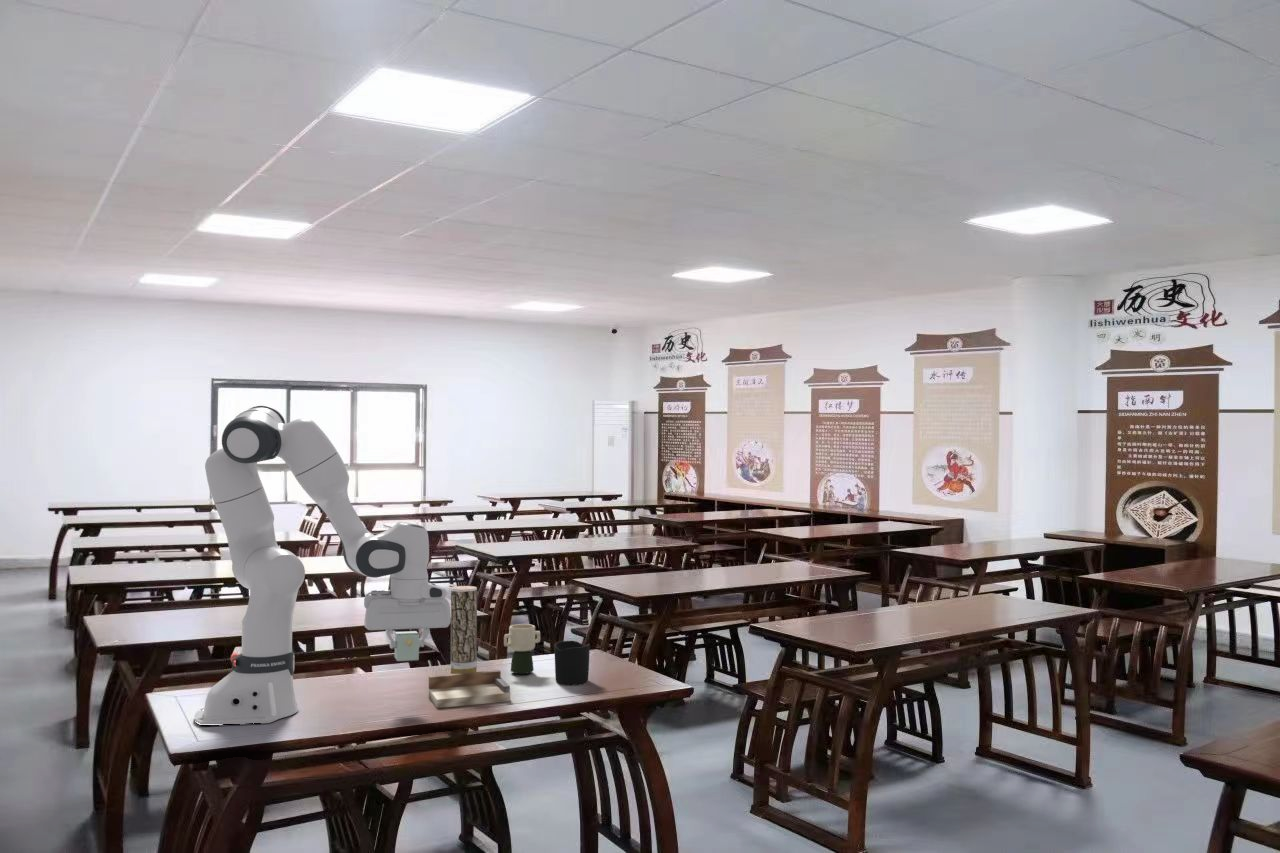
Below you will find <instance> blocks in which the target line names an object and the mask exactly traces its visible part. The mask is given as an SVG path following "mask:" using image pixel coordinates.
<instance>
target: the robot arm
mask: <svg viewBox="0 0 1280 853" xmlns="http://www.w3.org/2000/svg"><path fill="white" fill-rule="evenodd" d="M221 445H222V446H221V447H222V448H220V449H217V450H216V451H214V452H212V453H210V455H209V456H208V457H207V458H206V460H205V463H204V464H205V465H204V469H205V475H206V480H207V484H208V489H209V491H210V495H211V498H212V501H213V503H214V505H215V508H216V511H217V514H218V516H219V519H220V522H221V524H222V527H223V529H224V532H225V536H226V539H227V544H228V550H229V555H230V560H231V562H232V564H231V569H232V573H233V576H234V578H235V579H236V581H237V582H238V583H239V584H240V585H241V586H242V587H243V588H244V589H245V588H246V589H248V590H249V599H248V603H247V608H246V612H245V614H244V616H243V617H242V620H241V653H237V652H234V653H232V654H231V655H230V662H231V669H232V671H230V672H229V673H228V674H227V675H226V676H224V677H223V678H222V679H221V680H219V681H218V682H217V683H215V684H214V685H213V686H212V687H211V688H210V689H209V691H208V693H207V695H206V699H205V704H204V707H203V708H200V709H199V710H201V711H199V710H197V711H196V712H195V714H194V717H195V721H196V722H198V723H200V724H240V725H244V724H243V723H253V724H252V725H255V724H254V723H261V724H270V723H273V722H275V721H277V720H280V719H282V718H286V717H290V716H292V715H294V714H296V713H297V712H299V711H300V708H299V705H298V702H297V697H296V693H295V687H294V686H295V684H294V672H295V654H294V650H293V618H294V613H295V612H294V611H295V607H296V603H297V599H298V598H297V597H298V593H299V589H300V587H302V584H303V583H304V580H305V576H306V569H305V566H304V564H303V562H302V560H301V559H300V558H299V557H298V556H297V555H295V553H293V552H292V551H290V550H288V549H285V548H280V546H279V545H278V542H277V540H276V533H275V528H274V527H275V526H274V521H275V514H274V511H273V510H272V506H271V503H270V501H269V499H268V498H269V497H268V496H267V493H266V490H265V487H264V486H263V483H262V481H261V478H260V475H259V472H258V463H259V462H264V461H270V460H274V459H276V458H277V457H279V458H280V459H281V460H283V461H284V463H286V466H288V468H289V470H290V471H291V473H292V475H293V476H294V478H295V479H296V481H297V483H298V484H299V485H300V487H301V488H302V489H303V491H305V493H306V494H307V495H308V496H309V497H310V498H311V499H312V500H313V501H314V502H315V503H316V504H317V505H318V507H320V509H321V510H322V511H323V512H324V514H325V515H326V517H327V519H328V520H329V523H330V524H331V526H332V527H333V529H334V530H335V532H336V534H337V535H338V538H339V539H340V542H341V546H342V553H343V560H344V562H345V565H346V566H347V567H348V569H350V571H352V572H353V573H356V574H358V575H361V576H365V577H366V578H371V579H372V578H374V579H375V578H376V579H377V578H382V577H386V576H389V575H390V589H383V590H371V591H370V592H368V593H366V594H365V596H364V597H363V598H364V600H363V603H364V604H363V605H364V608H365V613H364V622H363V623H364V628H366V629H367V631H384V630H385V635H386V636H387V638H388V640H389V648H390V649H395V648H397V645H396V644H397V641H396V640H395V639H393V637H392V636H391V635H393V630H413V629H415V630H418V629H421V632H422V635H421V637H419V648H424V647H425V640H426V638H427V637H428V635H429V633H430V629H439V628H441V629H442V628H444V629H445V628H448V627H449V626H451V605H450V603H449V601H448V599H446V597H447V594H448V592H447V590H446V588H445V587H443V586H440V585H437V584H435V583H432V582H429V574H428V564H429V561H430V540H429V533H428V531H427V528H425V527H424V526H422V525H419V524H415V523H411V522H404V521H400V522H396V523H395V524H394V525H393V526H391V527H390V528H389V529H386V530H384V531H382V532H379V533H377V534H374V533H373V532H371V531H369V530H368V529H367V528H366V526H365V525H364V523H363V522H362V520H361V518H360V517H359V515H358V514H357V512H356V509H355V508H354V506H353V504H352V503H351V500H350V498H349V494H348V493H349V492H348V487H349V481H350V475H349V473H348V470H347V468H346V465H345V463H344V460H343V459H342V457H341V455H340V453H339V451H338V450H337V448H336V447H335V446H334V444H333V443H332V441H331V440H330V439H329V437H328V435H326V433H325V432H324V431H323V430H322V428H320V426H319V425H318V424H317V423H316V422H315V421H314V420H312V419H309V418H297V419H294V420H291V421H289V422H287V423H286V421H285V418H284V416H283V415H282V413H280V412H279V411H278V410H277V409H275V408H273V407H271V406H268V405H267V406H266V405H256V406H253V407H250V408H248V409H246V410H244V411H242V412H240V413H239V414H237V415H236V416H235V417H234V418H233V419H232V420H230V422H228V424H226V426H225V428H224V430H223V432H222V435H221ZM203 709H204V711H202V710H203Z"/></svg>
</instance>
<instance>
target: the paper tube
mask: <svg viewBox="0 0 1280 853" xmlns="http://www.w3.org/2000/svg"><path fill="white" fill-rule="evenodd" d="M450 615H451V622H450V674H458V673H470V672H477V667H478V665H477V664H478V662H477V659H478V658H477V655H478V654H477V652H478V651H477V650H478V649H477V646H478V642H477V641H478V637H477V636H478V630H477V629H478V586H473V585H458V586H453V587H452V586H451V588H450Z"/></svg>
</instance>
